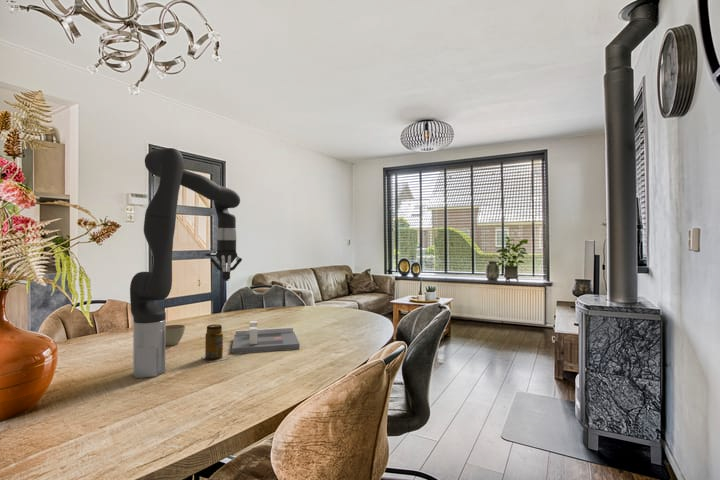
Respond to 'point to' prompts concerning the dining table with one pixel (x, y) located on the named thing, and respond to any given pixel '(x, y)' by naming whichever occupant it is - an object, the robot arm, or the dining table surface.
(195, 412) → the dining table surface
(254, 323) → the breaker
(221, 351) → the condiment
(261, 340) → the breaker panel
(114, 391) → the dining table surface
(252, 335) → the block
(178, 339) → the flower pot
